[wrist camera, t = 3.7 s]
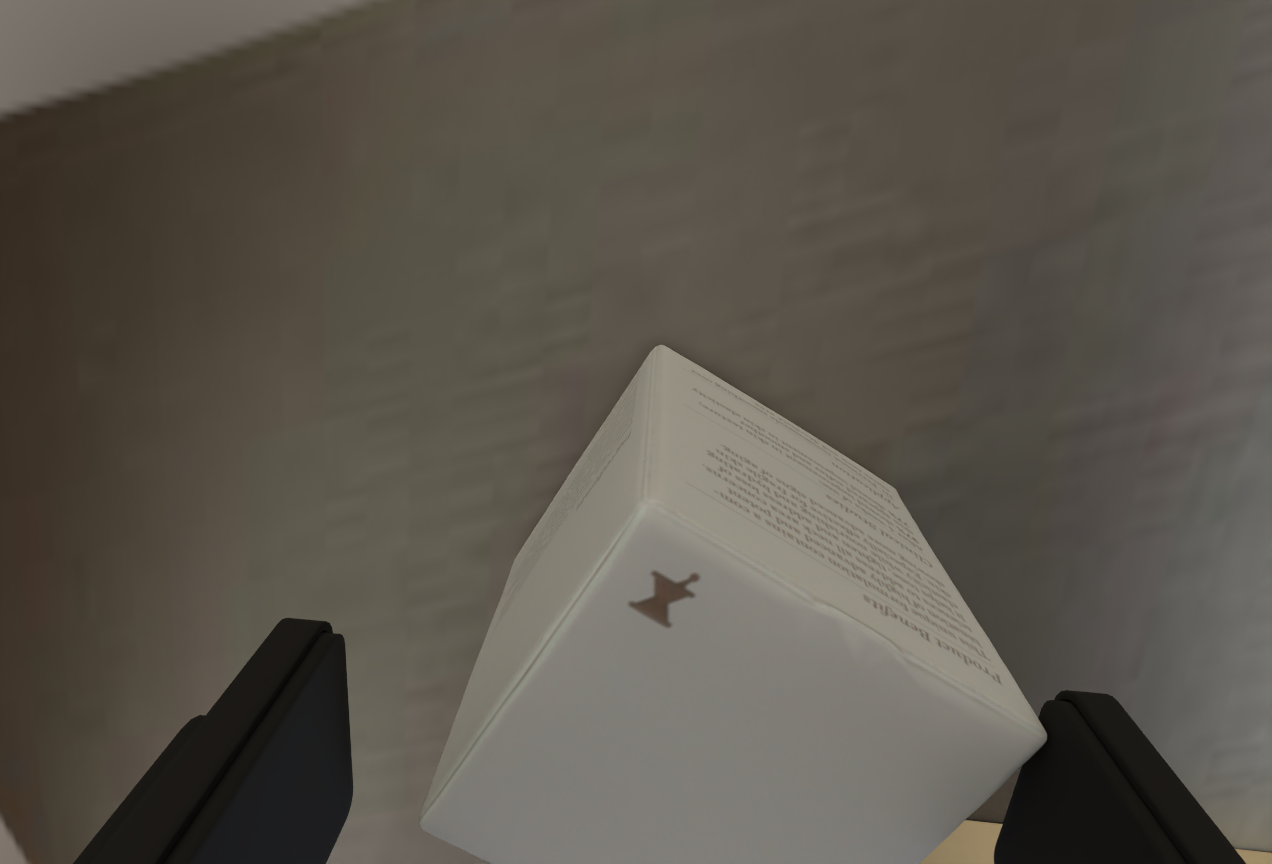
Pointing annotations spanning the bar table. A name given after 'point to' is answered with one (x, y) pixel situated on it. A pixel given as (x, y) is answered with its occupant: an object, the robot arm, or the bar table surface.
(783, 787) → the product box
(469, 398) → the bar table surface
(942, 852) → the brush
